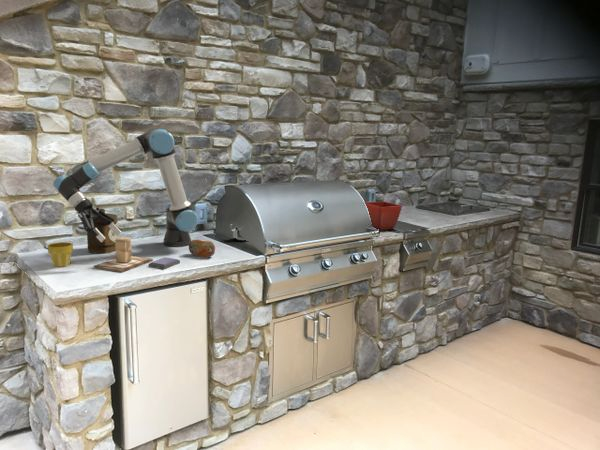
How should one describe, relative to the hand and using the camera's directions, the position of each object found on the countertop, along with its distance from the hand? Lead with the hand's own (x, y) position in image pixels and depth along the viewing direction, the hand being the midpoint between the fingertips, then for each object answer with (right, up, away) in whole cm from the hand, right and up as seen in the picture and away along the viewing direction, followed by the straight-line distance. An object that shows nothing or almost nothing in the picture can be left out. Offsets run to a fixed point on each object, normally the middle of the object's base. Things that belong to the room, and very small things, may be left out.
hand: (111, 237), depth 230 cm
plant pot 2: (+144, +3, +107) cm, 180 cm away
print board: (+5, -13, +2) cm, 14 cm away
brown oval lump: (+38, -10, +21) cm, 45 cm away
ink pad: (+24, -13, +4) cm, 27 cm away
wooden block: (+5, -12, +2) cm, 13 cm away
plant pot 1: (-22, -13, -2) cm, 26 cm away
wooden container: (-14, -8, +26) cm, 31 cm away
